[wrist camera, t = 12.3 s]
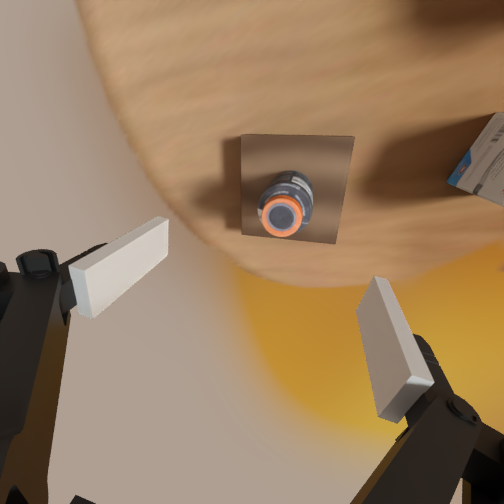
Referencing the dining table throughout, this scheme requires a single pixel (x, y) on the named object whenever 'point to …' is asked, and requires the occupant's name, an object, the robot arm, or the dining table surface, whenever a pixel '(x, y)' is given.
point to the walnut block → (302, 160)
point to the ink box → (484, 164)
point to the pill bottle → (286, 204)
